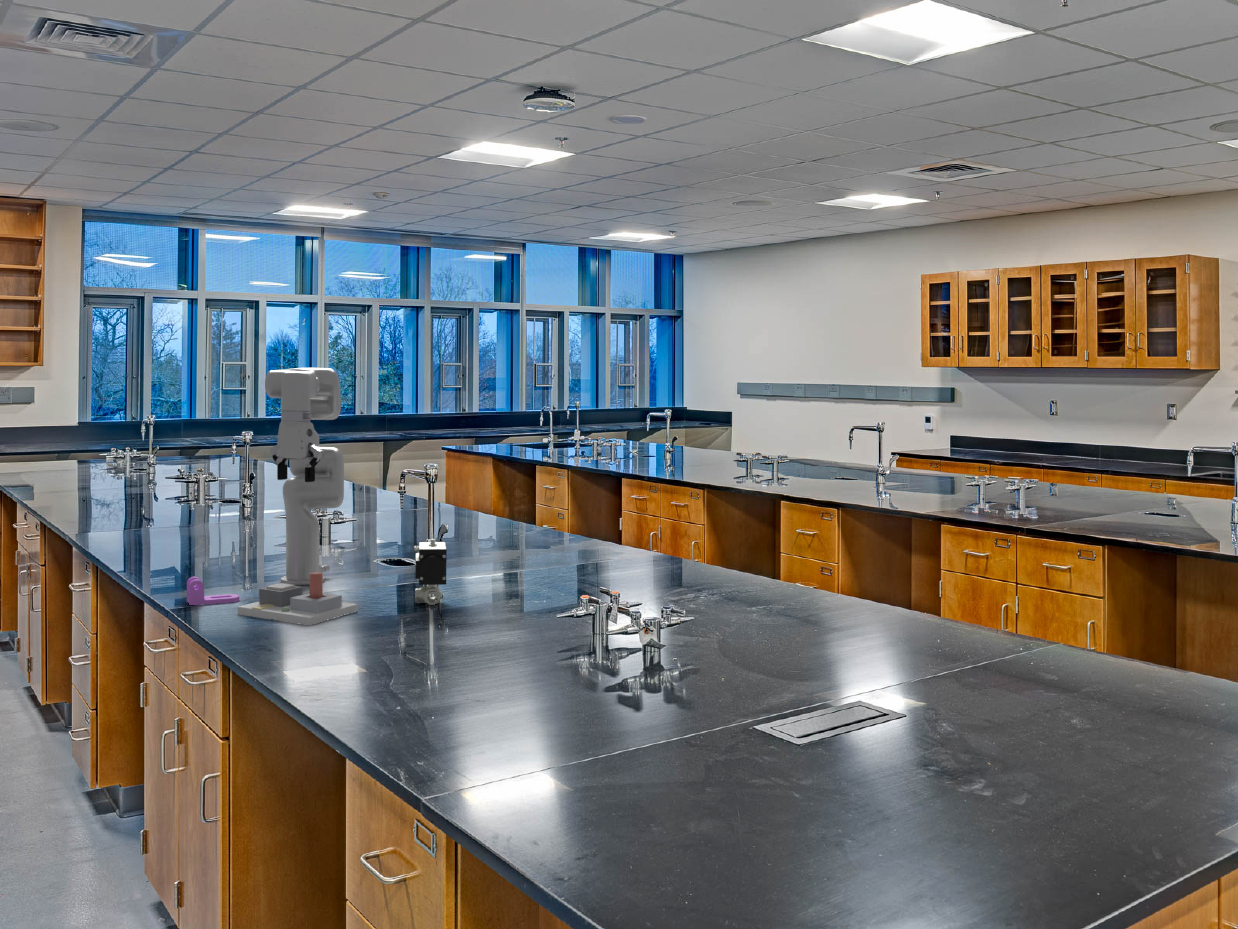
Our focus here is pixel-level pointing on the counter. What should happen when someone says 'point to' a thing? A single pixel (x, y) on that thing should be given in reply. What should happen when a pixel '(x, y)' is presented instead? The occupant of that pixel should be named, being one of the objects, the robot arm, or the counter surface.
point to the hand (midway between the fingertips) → (296, 480)
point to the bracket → (197, 594)
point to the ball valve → (430, 570)
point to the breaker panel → (295, 613)
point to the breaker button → (281, 586)
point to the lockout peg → (316, 585)
